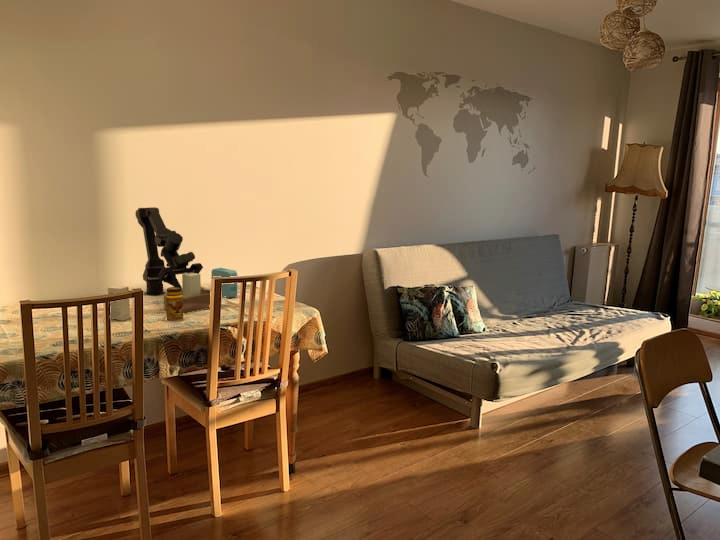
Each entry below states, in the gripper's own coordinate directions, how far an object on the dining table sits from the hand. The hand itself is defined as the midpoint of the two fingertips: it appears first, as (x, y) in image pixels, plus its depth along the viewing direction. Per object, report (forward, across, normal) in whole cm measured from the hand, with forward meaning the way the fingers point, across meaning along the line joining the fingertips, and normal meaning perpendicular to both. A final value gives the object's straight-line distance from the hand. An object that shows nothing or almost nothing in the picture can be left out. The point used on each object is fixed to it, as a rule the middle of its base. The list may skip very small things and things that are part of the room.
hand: (190, 288), depth 237 cm
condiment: (+12, -15, 0) cm, 20 cm away
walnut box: (+6, 0, +6) cm, 8 cm away
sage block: (+6, 0, +6) cm, 8 cm away
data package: (+1, +24, +11) cm, 26 cm away
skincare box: (+2, -28, +10) cm, 30 cm away
